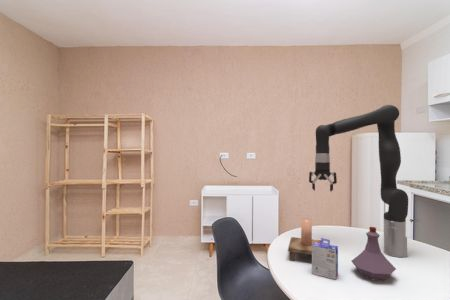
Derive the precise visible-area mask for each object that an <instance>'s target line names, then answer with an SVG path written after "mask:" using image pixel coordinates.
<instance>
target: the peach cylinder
mask: <svg viewBox="0 0 450 300" xmlns="http://www.w3.org/2000/svg"><path fill="white" fill-rule="evenodd" d="M300 221H301V222H300V224H301V225H300V226H301V227H300V235H301V237H300V238H301V244H302V245H304V246H311V245H312V239H313V237H312V236H313V233H312V232H313V222H312V221H313V220H312V219H310V218H301V219H300Z"/></svg>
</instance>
